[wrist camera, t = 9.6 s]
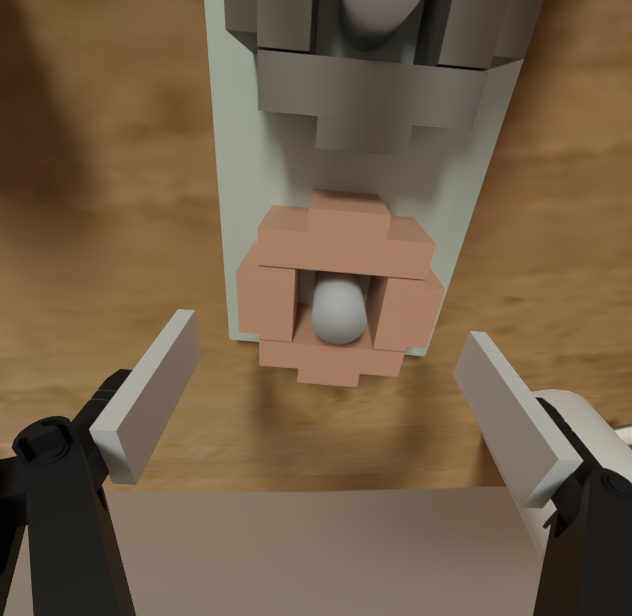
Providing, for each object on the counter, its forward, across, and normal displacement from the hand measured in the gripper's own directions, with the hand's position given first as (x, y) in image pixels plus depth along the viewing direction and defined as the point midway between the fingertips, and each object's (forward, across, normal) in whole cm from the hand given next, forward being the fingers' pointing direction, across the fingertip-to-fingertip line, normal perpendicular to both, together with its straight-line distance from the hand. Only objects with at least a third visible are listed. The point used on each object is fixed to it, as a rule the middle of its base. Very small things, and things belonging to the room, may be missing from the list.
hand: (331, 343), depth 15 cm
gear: (+8, 0, 0) cm, 8 cm away
